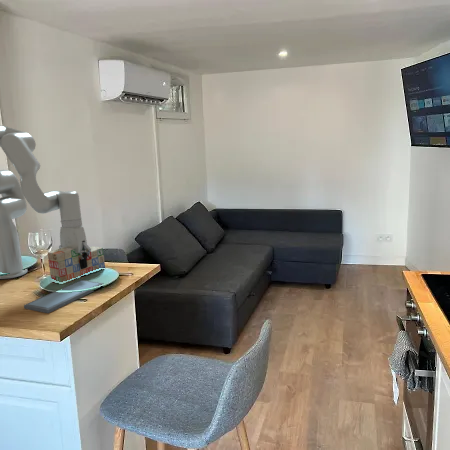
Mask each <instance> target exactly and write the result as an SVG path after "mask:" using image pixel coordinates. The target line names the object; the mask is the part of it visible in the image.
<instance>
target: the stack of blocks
mask: <svg viewBox="0 0 450 450" xmlns="http://www.w3.org/2000/svg"><path fill="white" fill-rule="evenodd" d="M89 247H90V248H91V252H90V253H89V255H88V257H87V266H88V267H87V268H84V269H81V268H80V259H81V258H80V256H79V254H78V253H75V251H74V250H75V249H70V248H58V249H54V250H50V251H47V259H48V261H47V262H48V267H49V273H50V279H51V278H52V279H54V280H56V281H59V282H63V281H67V280H70V279H72V278H76V277H78V276H81V275H83V274H85V273H88V272H90V271H93V270H96V269H99V268H105V269H106V262H105V254H104V248H103V247H100V246H89ZM82 251H83V249H82ZM82 255H83V252H82Z"/></svg>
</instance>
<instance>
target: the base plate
mask: <svg viewBox="0 0 450 450" xmlns="http://www.w3.org/2000/svg"><path fill="white" fill-rule="evenodd" d="M102 284H104V282H98V281H91V280H84V279H80V280H78V281H76V282H73V283H71V284H69V285H66V286H64V287H62V288H61V289H62V290H79V289H86V288H91V287H94V286H99V285H102ZM93 292H94V291H89V290H88V291H82V292H72V293H58V292H55V291H53V292H50V293H49V294H46V295H44V296H41V297H39V298H36V299H35V300H33V301H30V302H27V303H26V304H23V307H24V310H25V309H26V310H29V311H35V312H39V313H45V314H50V313H52V312H54V311H56V310H59V309H60V308H62V307H65V306H67V305H68V304H71V303H72V302H75V301H78V300H79V299H81V298H83V297H85V296H87V295H89V294H91V293H93Z"/></svg>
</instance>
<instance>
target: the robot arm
mask: <svg viewBox="0 0 450 450" xmlns="http://www.w3.org/2000/svg"><path fill="white" fill-rule="evenodd" d="M36 145H37V144H36V140H35V138H34V137H33V135H31V134H29V132H25V131H23V130H18V129H16V128H12V127H8V126H6V125H0V148H1V150H2V151H3V153H4V154H5V155H6V157H7V158H8V160H9V161H10V163H11V164H12V165H13V167H14V169H15V170H16V172H17V173H18V174H19V179H18V177H17V176H16V174H15V173H14V172H12V171H11V170H8V169H0V195H1V197H0V272H2V273H10V274H7V275H4V276H0V280H7V279H13V278H14V279H15V278H17V277H18V278H19V277H20V276H24V275H25V274H27V273H28V268H27V269H25V270H22V269H23V267H24V265H23V261H22V260H23V259H22V252H21V245H20V238H19V233H18V228H17V226H16V225H15V223H14V222H13V220H14V219H18V218H20V217H22V216H23V215H25V214H26V212H27V209H28V207H27V203H28V204H29V205H30V207H31V208H32V209H33V210H34V211H35V212H37V213H39V214H47V213H51V212H54V211H57V210H59V213H60V214H59V215H60V223H61V227H60V230H59V243H60V244H59V246H58V249H60V248H70V249H75V250H74V251H75V253H78V254H79V256H80V258H81V259H80V268H81V269H84V268H87V267H88V266H87V257H88V255H89V253H90V252H91V248H90V247H91V246H89V245H88V241H87V236H86V232H85V228H84V226H83V221H82V220H83V219H82V213H81V203H80V195H79V193H78V192H77V191H75V190H68V191H61V190H51V191H46V192H43V190H42V189H41V188H40V186H39V184H38V181H37V173H38V171H40V168H41V163H40V162H39V161H38V159H37V158H36V156H35V155H34V153H33V152H34V151H35V149H36ZM19 181H20V182H19ZM82 249H83V251H82ZM82 252H83V255H82Z"/></svg>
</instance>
